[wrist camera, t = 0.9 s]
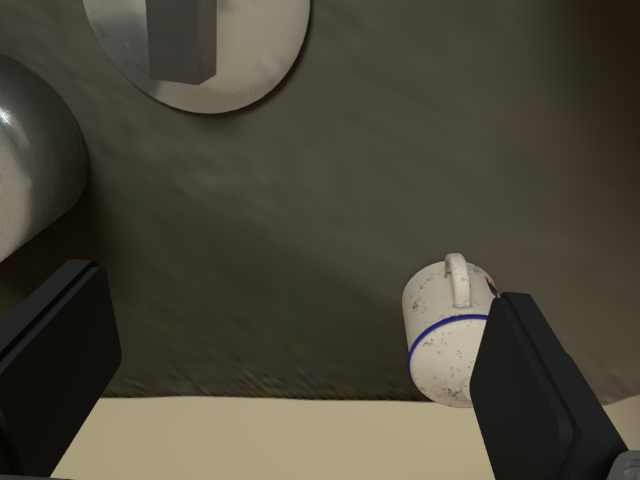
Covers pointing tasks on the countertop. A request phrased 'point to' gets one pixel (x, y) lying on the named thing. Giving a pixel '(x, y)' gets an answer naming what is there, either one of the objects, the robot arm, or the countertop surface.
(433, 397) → the teacup with lid
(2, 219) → the pot
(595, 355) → the countertop surface
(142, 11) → the lid
